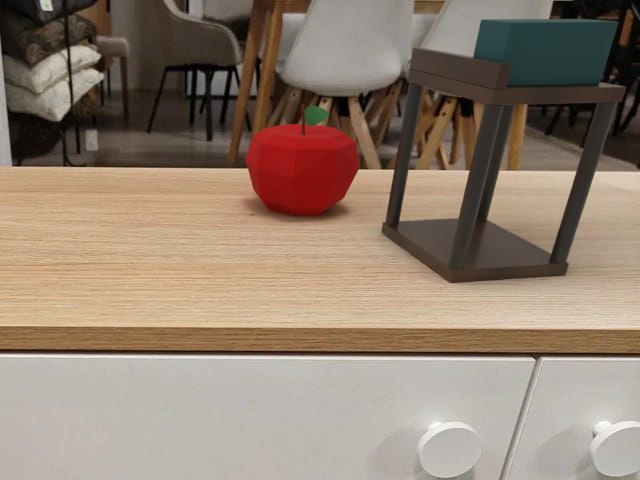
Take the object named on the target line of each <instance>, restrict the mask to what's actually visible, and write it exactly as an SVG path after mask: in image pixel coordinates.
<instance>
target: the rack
mask: <svg viewBox="0 0 640 480" xmlns="http://www.w3.org/2000/svg"><path fill="white" fill-rule="evenodd" d="M511 65H512V64H510V63H505V62H499V61H494V60H488V59H482V58H477V57H473V56H471V55H466V54H459V53H454V52H448V51H442V50H437V49H431V48H425V47H413V48H412V51H411V57H410V63H409V69H408V73H407V80H406V82H407V83H408V89H407V94H406V98H405V99H406V100H405V106H404V110H403V111H404V112H403V117H402V122H401V128H400V133H399V139H398V146H397V151H396V157H395V163H394V169H393V174H392V175H393V176H392V180H391V186H390V192H389V197H388V202H387V203H388V204H387V208H386V215H385V220H384V221H382V226H381V231H380V232H381V234H382V235H384V236H385V237H387V239H390V240H391V241H392V242H394V244H397V246H400V247H401V248H402V249H403V250H405V251H406V252H408V253H409V254H410V255H412V256H413V257H414V258H416V259H417V260H419V261H420V262H421V263H423V264H424V265H426V266H427V267H428V268H429V269H431V270H432V271H434V272H435V273H436V274H438V275H439V276H440V277H442V278H443V279H445V280H447V282H449V283H462V282H476V281H491V280H493V281H494V280H504V279H505V280H506V279H520V278H537V277H553V276H566V274H567V272H568V268H569V266H570V262H568V258H569V255H570V252H571V249H572V246H573V243H574V240H575V237H576V234H577V231H578V228H579V224H580V220H581V217H582V215H583V211H584V208H585V205H586V203H587V199H588V196H589V193H590V189H591V187H592V183H593V180H594V178H595V174H596V171H597V167H598V164H599V161H600V158H601V156H602V153H603V150H604V146H605V143H606V141H607V140H606V139H607V136H608V133H609V131H610V127H611V124H612V121H613V118H614V114H615V112H616V109H617V107H618V104H619V103H622V102H623V99H624V95H625V93H626V90H627V86H624V85H618V84H613V83H607V82H601V81H600V84H598V85H558V86H510V87H506V86H507V81H508V77H509V73H510V69H511ZM425 88H428V89H432V90H435V91H439V92H442V93H446V94H448V95H454V96H457V97H461V98H465V99H468V100H471V101H475V102H478V103H482V104H484V105H483V106H484V107H483V109H482V113H481V118H480V123H479V127H478V131H477V135H476V141H475V145H474V148H473V154H472V158H471V162H470V167H469V171H468V175H467V180H466V183H465V187H464V192H463V197H462V201H461V205H460V210H459V215H458V217H456V218H436V219H420V220H419V219H417V220H400V219H401V213H402V208H403V203H404V198H405V194H406V193H405V192H406V187H407V183H408V176H409V171H410V165H411V161H412V153H413V150H414V149H413V148H414V144H415V139H416V133H417V129H418V128H417V127H418V123H419V116H420V111H421V105H422V100H423V96H424V95H423V94H424V89H425ZM554 104H556V105H557V104H558V105H559V104H560V105H561V104H596V106H595V109H594V111H593V112H594V113H593V116H592V120H591V123H590V126H589V129H588V133H587V136H586V139H585V141H584V145H583V149H582V153H581V155H580V159H579V162H578V165H577V168H576V171H575V174H574V177H573V181H572V185H571V188H570V190H569V194H568V198H567V200H566V204H565V207H564V210H563V214H562V217H561V220H560V224H559V227H558V231H557V234H556V237H555V240H554V243H553V245H552V246H553V247H552V249H551V252H549V251H547V250H546V249H544V248H542V247H540V246H537V245H536V244H534V243H532V242H530V241H528V240H526V239H524V238H522V237H521V236H519V235H517V234H515V233H513V232H511V231H509V230H508V229H505V228H504V227H502V226H500V225H498V224H496V223H494V222H492V221H490V220H488V218H489V213H490V210H491V207H492V202H493V198H494V193H495V190H496V186H497V181H498V178H499V174H500V170H501V165H502V161H503V159H504V154H505V150H506V146H507V142H508V138H509V133H510V130H511V126H512V122H513V118H514V114H515V109H516V107H517V106H518V105H519V106H521V105H554Z"/></svg>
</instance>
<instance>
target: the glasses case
mask: <svg viewBox="0 0 640 480" xmlns="http://www.w3.org/2000/svg"><path fill="white" fill-rule="evenodd" d="M618 26H619V21H617V20H615V21H614V20H602V19H587V18H501V19H500V18H491V19H489V18H486V19H485V18H484V19H480V22H479V27H478V32H477V37H476V40H475V41H476V42H475V46H474V52H473V56H472V57H477V58H482V59H488V60H494V61H499V62H505V63H510V64H512V65H511V69H510V73H509V77H508V81H507V86H506V87H510V86H558V85H598V84H600V82H601V81H602V77H603V76H604V75H603V74H604V71H605V69H606V64H607V63H608V62H607V61H608V58H609V54H610V51H611V48H612V45H613V41H614V38H615V36H616V31H617V28H618Z"/></svg>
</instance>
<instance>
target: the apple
mask: <svg viewBox="0 0 640 480" xmlns="http://www.w3.org/2000/svg"><path fill="white" fill-rule="evenodd" d="M300 114H301V123H294V124H293V123H291V124H290V123H288V124H287V123H286V124H278V125H273V126H268V127H264V128H263V129H261V130H260V131H258V132H256V133H255V134H253V136H252V139H251V142H250V144H249V148H248V150H247V153H246V156H245V163H246V167H247V171H248V173H249V178H250V182H251V185H252V189H253V191H254V193H255V194H256V196H257V198H258V199H259V200H260V201H261V202H262V204H263V205H264V206H265V207H266V208H267V210H268V211H269V212H274V213H278V214H283V215H288V216H312V217H313V216H315V217H316V216H319V215H321V214H322V213H325V212H326V211H328V210H329V209H331V208H332V207H333V206H335V205H337V204H338V203H339V202H341V201H342V200H344V199H345V197H346V195H347V193H348V191H349V189H350V187H351V185H352V183H353V182H354V179H355V178H356V176H357V174H358V172H359V170H360V161H359V155H358V154H359V153H358V148H357V142H356V140H354V139H352V137H350V136H349V135H348V134H347V133H345V132H343V131H341V130H340V129H337V128H336V127H332V126H331V127H330V126H326V125H325V126H324V125H319V124H320V123H322V122H323V121H324V120H325V119H327V118H328V117H329V115H330V113H329V112H328V111H327V110H325V109H324V108H322V107H319V106H317V105H309V106H307V107H306V108H305V104H304V103H301V104H300Z"/></svg>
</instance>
